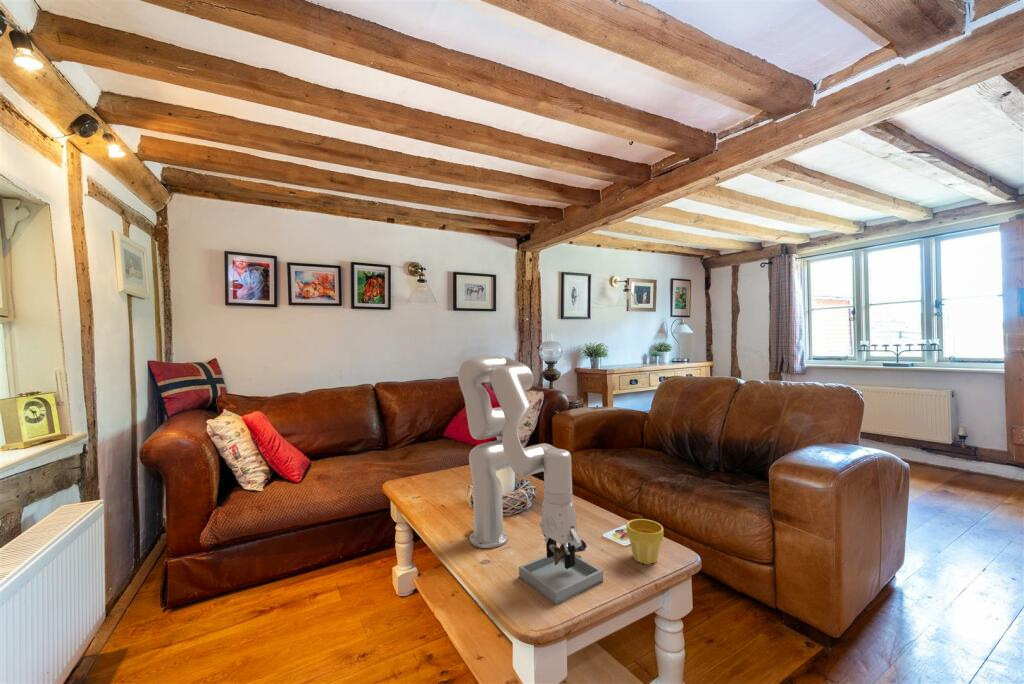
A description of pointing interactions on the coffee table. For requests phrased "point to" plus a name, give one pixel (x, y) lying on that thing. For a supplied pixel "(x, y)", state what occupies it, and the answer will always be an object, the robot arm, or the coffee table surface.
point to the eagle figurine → (561, 551)
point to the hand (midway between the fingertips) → (560, 560)
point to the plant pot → (645, 539)
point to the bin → (560, 577)
